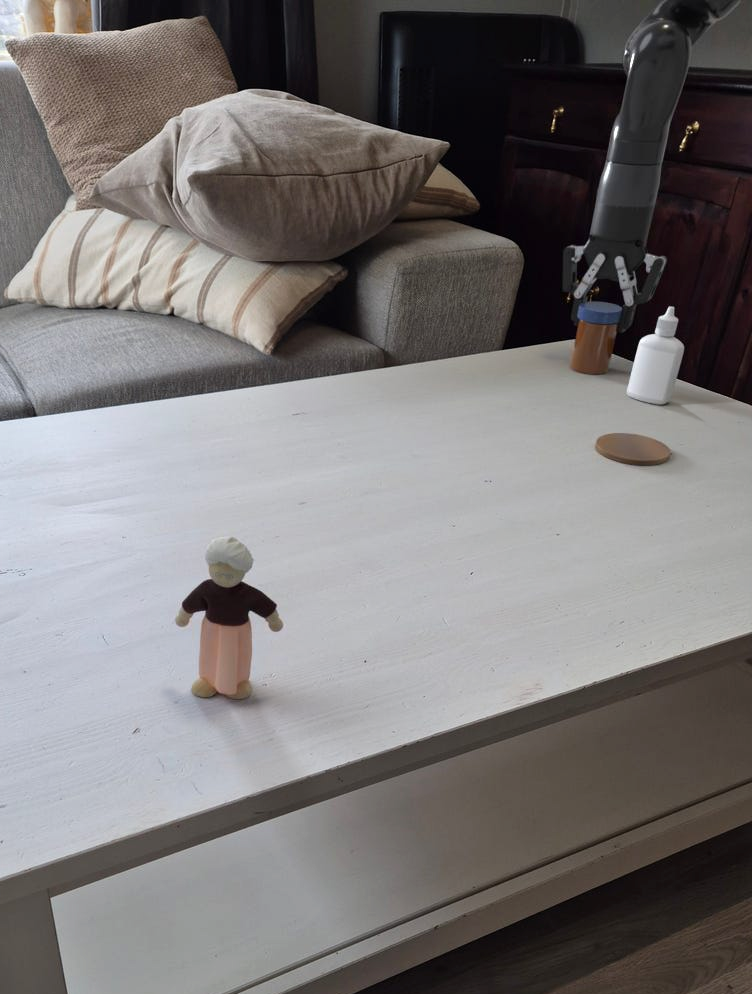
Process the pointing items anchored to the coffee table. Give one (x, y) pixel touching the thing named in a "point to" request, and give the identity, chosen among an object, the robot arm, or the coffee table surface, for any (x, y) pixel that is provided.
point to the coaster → (632, 449)
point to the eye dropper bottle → (657, 363)
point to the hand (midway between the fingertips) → (599, 327)
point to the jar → (593, 347)
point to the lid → (599, 312)
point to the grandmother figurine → (226, 620)
